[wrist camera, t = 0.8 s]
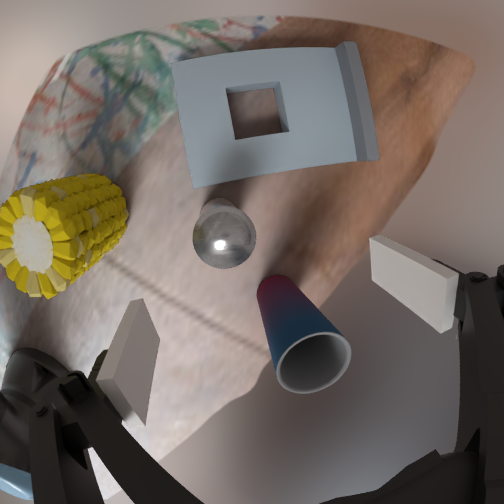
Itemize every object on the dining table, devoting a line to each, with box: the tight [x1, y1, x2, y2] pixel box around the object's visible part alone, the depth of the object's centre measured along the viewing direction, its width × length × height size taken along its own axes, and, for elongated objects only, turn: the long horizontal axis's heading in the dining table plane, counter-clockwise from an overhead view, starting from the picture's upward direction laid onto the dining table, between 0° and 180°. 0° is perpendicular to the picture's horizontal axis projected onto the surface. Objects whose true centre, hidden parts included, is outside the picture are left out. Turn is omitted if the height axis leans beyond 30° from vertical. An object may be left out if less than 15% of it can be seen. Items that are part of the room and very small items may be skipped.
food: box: [0, 173, 129, 299], centre depth 24 cm, size 15×12×10 cm
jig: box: [171, 41, 380, 189], centre depth 28 cm, size 20×14×5 cm
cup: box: [257, 275, 351, 393], centre depth 30 cm, size 7×7×15 cm
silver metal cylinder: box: [193, 198, 256, 269], centre depth 29 cm, size 5×5×10 cm
